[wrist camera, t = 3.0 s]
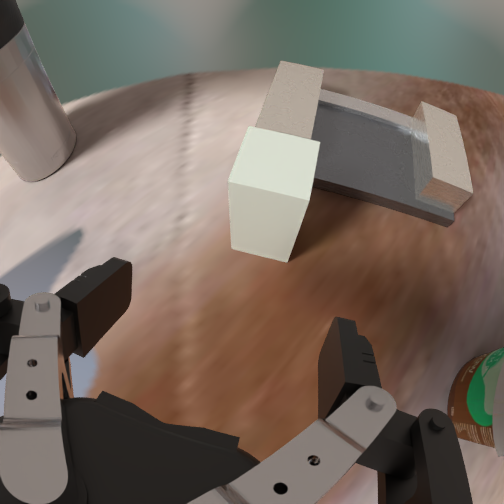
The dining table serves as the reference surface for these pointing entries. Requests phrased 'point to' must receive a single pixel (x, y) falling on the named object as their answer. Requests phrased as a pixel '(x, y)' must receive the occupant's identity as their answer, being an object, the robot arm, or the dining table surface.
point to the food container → (480, 401)
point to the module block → (270, 191)
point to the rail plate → (373, 146)
